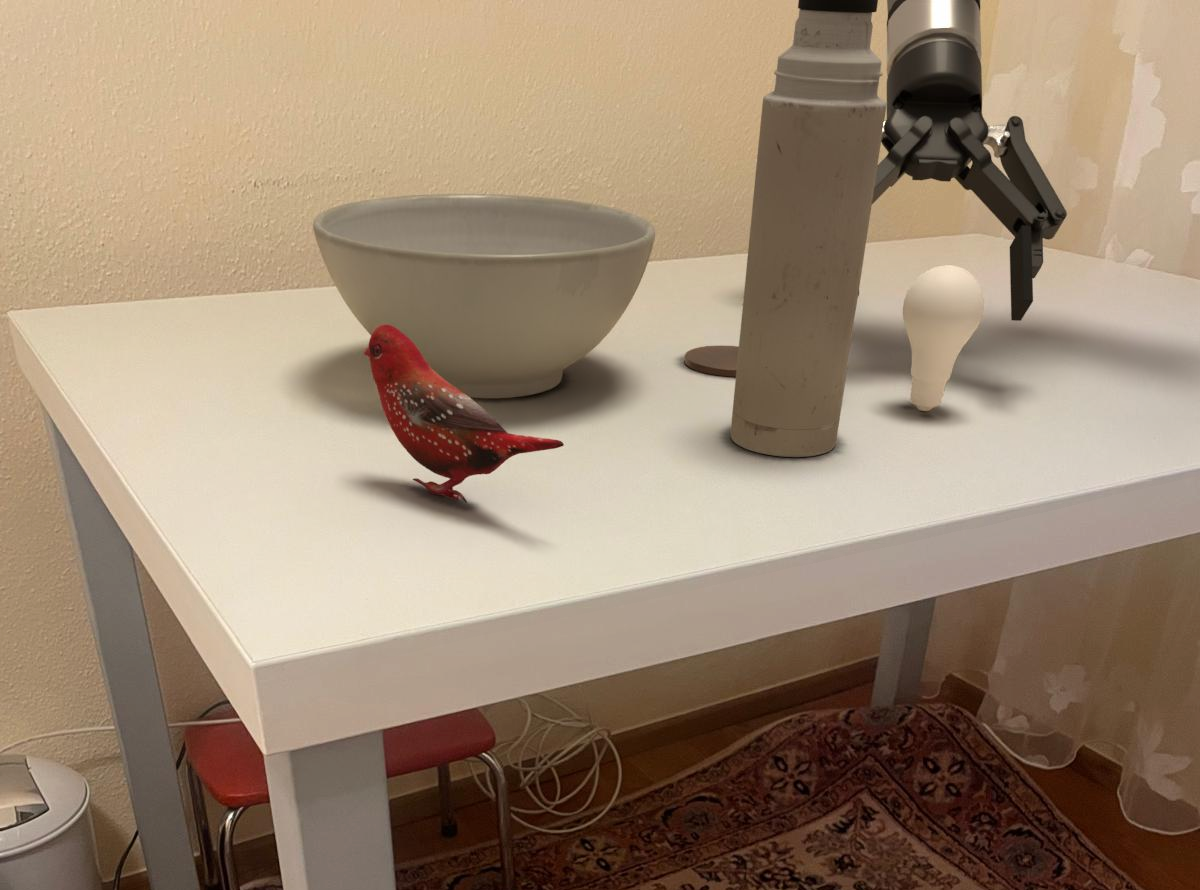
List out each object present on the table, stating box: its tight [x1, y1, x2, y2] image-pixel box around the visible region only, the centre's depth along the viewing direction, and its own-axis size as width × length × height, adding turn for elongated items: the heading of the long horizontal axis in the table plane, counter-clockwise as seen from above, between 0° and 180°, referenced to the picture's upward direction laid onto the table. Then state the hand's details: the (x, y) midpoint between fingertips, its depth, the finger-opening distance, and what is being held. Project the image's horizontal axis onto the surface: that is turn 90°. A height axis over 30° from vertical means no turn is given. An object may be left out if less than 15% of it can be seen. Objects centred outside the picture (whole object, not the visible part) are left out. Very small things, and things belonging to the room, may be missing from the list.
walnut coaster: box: [684, 345, 739, 378], centre depth 107 cm, size 8×8×1 cm
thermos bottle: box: [729, 0, 887, 458], centre depth 82 cm, size 8×8×28 cm
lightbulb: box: [902, 264, 985, 412], centre depth 94 cm, size 6×6×11 cm
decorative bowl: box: [312, 193, 656, 399], centre depth 98 cm, size 27×27×12 cm
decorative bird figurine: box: [363, 325, 565, 503], centre depth 75 cm, size 3×18×10 cm, turn 49°
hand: (936, 308), depth 94 cm, fingers open, 13 cm apart
